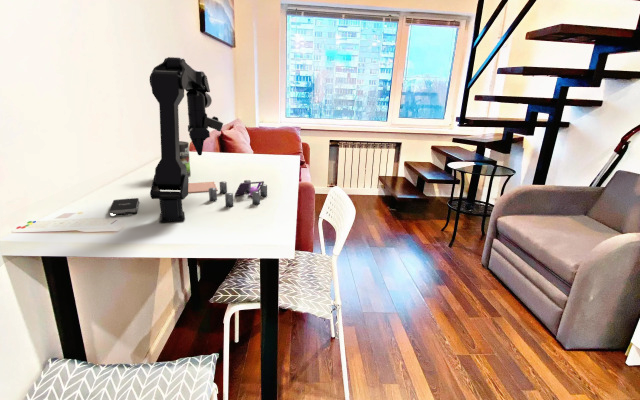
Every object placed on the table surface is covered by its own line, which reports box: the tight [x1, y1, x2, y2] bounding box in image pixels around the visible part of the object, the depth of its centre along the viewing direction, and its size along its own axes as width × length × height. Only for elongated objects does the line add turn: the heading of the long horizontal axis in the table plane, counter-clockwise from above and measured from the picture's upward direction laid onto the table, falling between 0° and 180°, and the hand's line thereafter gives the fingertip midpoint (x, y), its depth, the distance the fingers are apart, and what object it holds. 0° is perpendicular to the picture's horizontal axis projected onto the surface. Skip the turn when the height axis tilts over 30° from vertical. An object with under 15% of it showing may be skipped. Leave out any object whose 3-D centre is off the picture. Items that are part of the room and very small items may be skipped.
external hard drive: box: [108, 197, 140, 216], centre depth 104 cm, size 7×11×2 cm, turn 23°
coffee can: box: [179, 140, 192, 179], centre depth 140 cm, size 10×10×14 cm
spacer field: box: [208, 179, 268, 208], centre depth 118 cm, size 17×19×4 cm
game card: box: [234, 180, 265, 197], centre depth 121 cm, size 7×5×9 cm
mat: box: [188, 181, 218, 194], centre depth 128 cm, size 12×10×1 cm
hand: (199, 154), depth 124 cm, fingers closed
